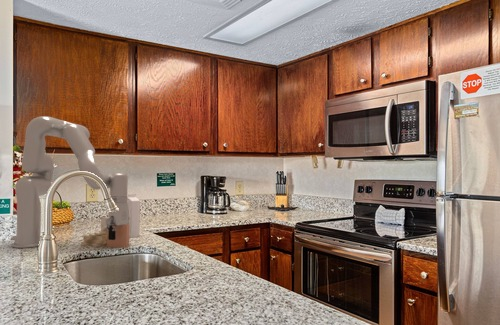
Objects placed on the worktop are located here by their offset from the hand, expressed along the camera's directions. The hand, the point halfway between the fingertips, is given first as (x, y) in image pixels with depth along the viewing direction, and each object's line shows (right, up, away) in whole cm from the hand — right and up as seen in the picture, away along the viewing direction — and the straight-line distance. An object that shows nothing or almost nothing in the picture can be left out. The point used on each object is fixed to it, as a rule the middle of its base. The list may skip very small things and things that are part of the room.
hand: (118, 237), depth 176 cm
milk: (-2, -5, +26) cm, 27 cm away
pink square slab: (0, -4, 0) cm, 4 cm away
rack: (-10, -4, +10) cm, 14 cm away
